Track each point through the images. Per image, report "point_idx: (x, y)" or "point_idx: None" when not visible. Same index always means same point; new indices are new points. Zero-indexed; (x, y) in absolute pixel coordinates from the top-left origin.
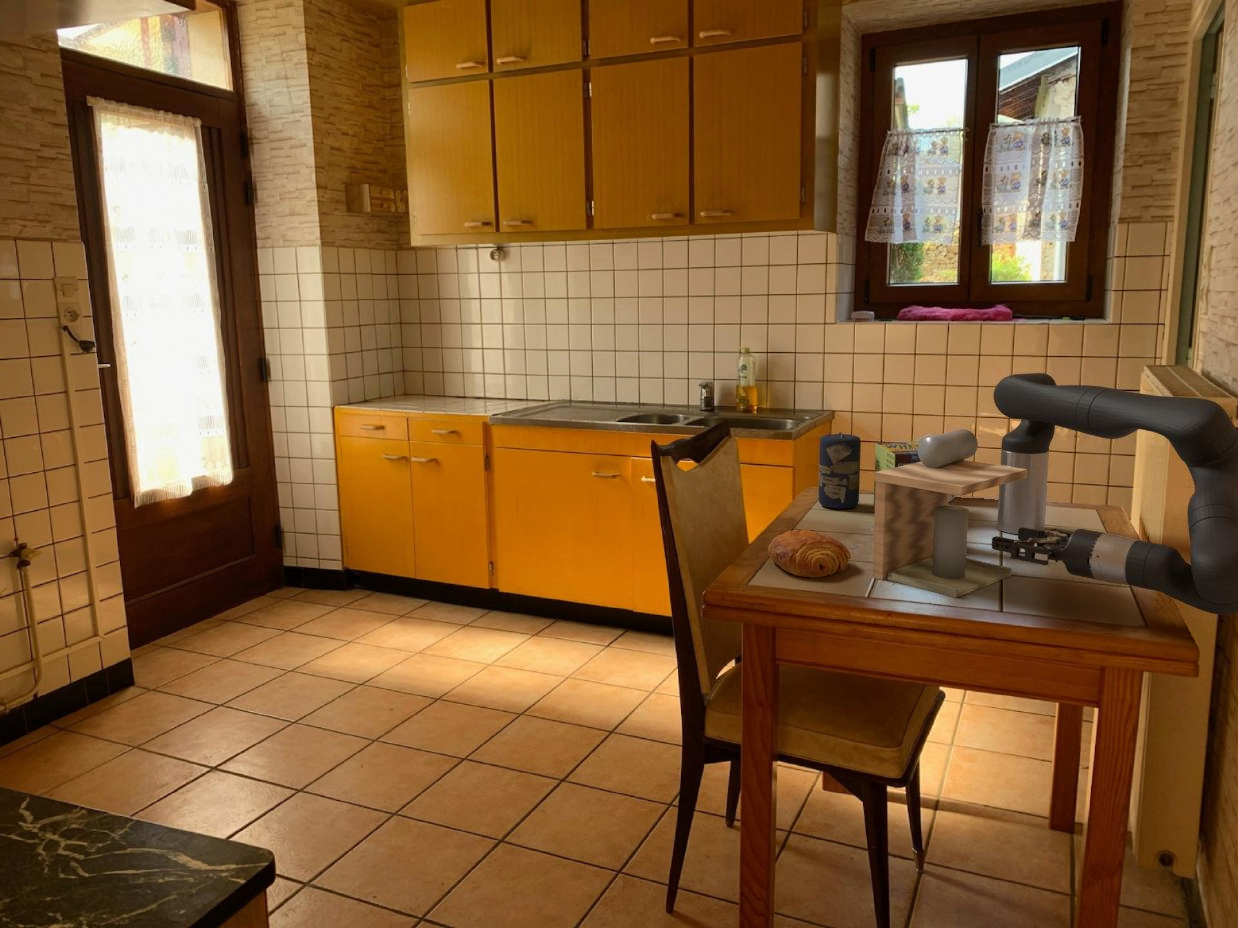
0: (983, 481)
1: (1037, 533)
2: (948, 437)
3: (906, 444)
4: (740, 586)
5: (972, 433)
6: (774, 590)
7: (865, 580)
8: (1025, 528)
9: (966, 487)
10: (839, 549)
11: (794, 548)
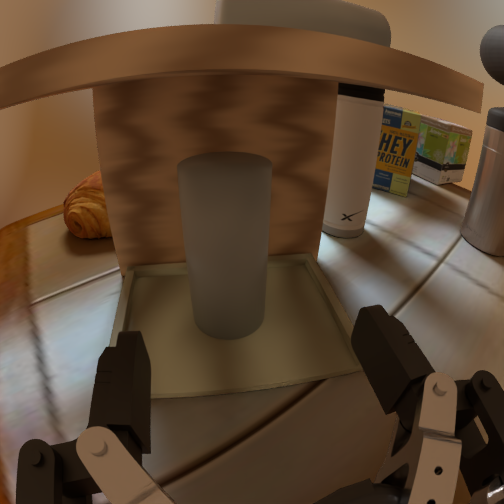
0: (122, 34)
1: (402, 379)
2: None
3: (400, 107)
4: (19, 227)
5: (381, 14)
6: (17, 243)
7: (105, 266)
8: (380, 322)
9: None
10: None
11: (69, 192)
